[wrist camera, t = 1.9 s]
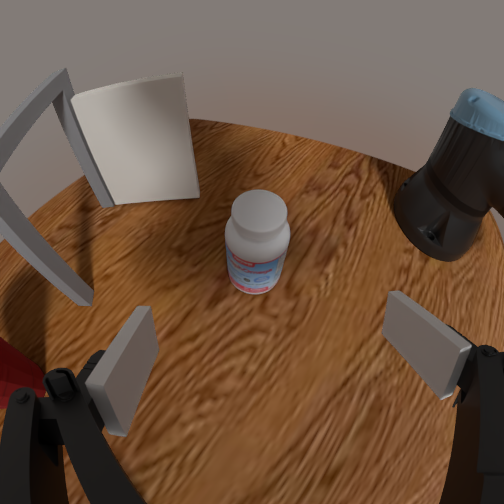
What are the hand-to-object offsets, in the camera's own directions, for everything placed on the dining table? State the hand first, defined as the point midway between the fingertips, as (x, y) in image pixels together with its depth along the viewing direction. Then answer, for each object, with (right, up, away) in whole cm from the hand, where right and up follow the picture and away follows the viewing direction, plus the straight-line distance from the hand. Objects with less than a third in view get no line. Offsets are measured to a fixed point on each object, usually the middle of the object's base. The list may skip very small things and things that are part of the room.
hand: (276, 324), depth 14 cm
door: (-15, +12, +24) cm, 30 cm away
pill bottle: (-1, +1, +18) cm, 19 cm away
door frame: (-22, +5, +20) cm, 30 cm away
